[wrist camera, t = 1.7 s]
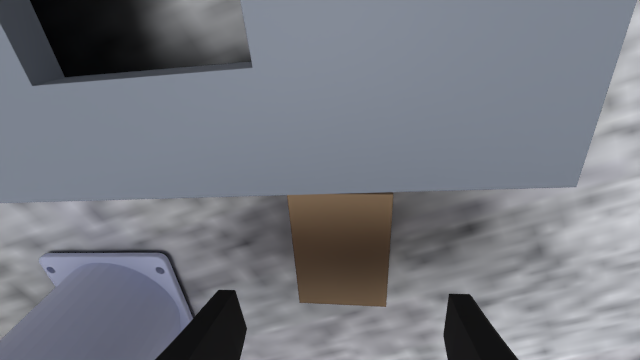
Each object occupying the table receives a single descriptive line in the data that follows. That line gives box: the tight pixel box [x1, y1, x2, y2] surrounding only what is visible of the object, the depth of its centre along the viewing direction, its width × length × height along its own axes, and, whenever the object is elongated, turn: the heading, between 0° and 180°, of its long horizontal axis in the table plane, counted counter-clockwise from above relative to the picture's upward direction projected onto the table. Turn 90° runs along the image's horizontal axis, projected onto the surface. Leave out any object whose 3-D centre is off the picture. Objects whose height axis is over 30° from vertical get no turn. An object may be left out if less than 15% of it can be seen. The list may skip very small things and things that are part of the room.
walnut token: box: [287, 192, 393, 307], centre depth 15 cm, size 6×4×3 cm, turn 3°
